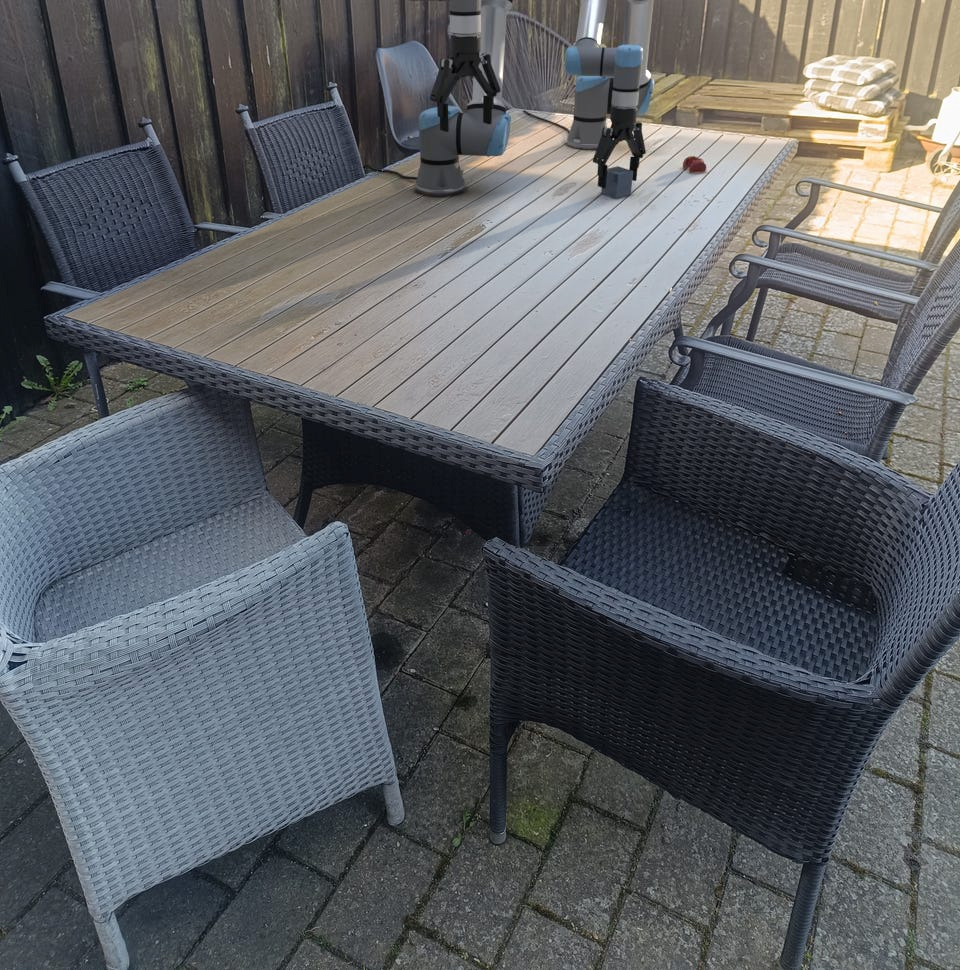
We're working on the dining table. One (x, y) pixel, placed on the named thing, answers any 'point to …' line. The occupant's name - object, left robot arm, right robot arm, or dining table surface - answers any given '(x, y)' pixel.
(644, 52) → the right robot arm
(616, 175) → the cube
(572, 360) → the dining table surface
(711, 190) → the dining table surface
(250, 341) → the dining table surface
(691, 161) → the dark red rounded lump
